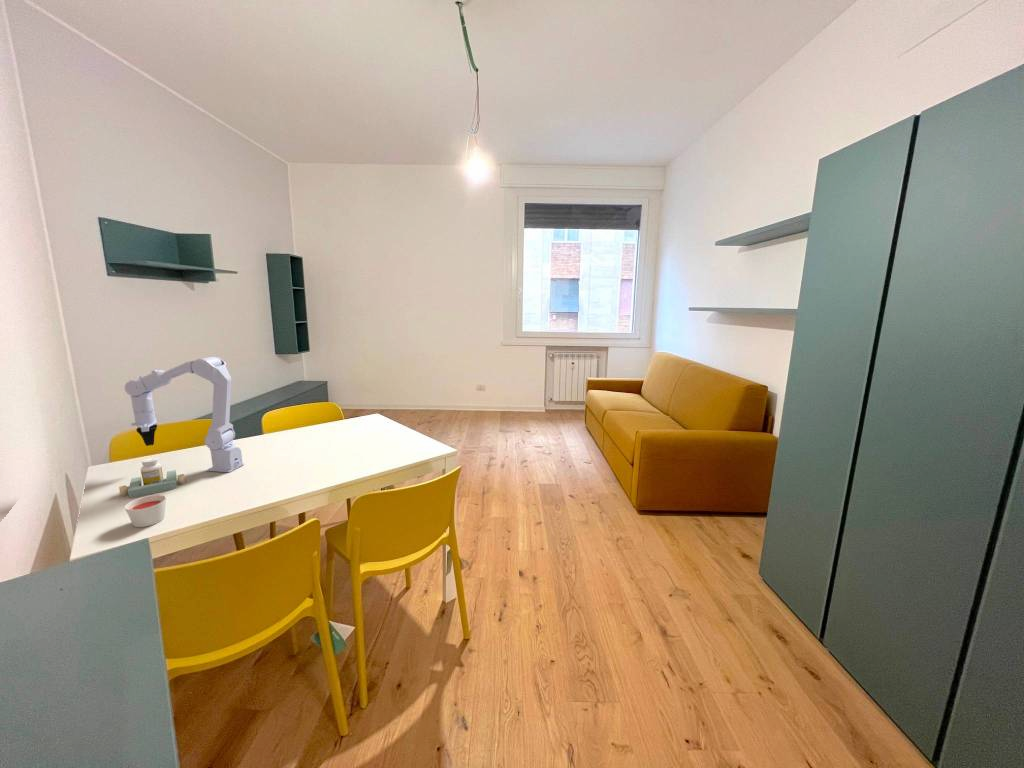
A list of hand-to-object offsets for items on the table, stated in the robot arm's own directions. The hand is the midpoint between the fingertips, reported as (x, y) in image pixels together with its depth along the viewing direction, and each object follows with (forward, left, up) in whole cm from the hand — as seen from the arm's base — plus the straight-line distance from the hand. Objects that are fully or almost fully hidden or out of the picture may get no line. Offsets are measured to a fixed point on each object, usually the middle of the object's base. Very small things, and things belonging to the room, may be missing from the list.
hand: (150, 444), depth 150 cm
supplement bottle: (-12, +11, -11) cm, 19 cm away
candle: (-33, +32, -11) cm, 47 cm away
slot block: (-13, +12, -10) cm, 21 cm away
